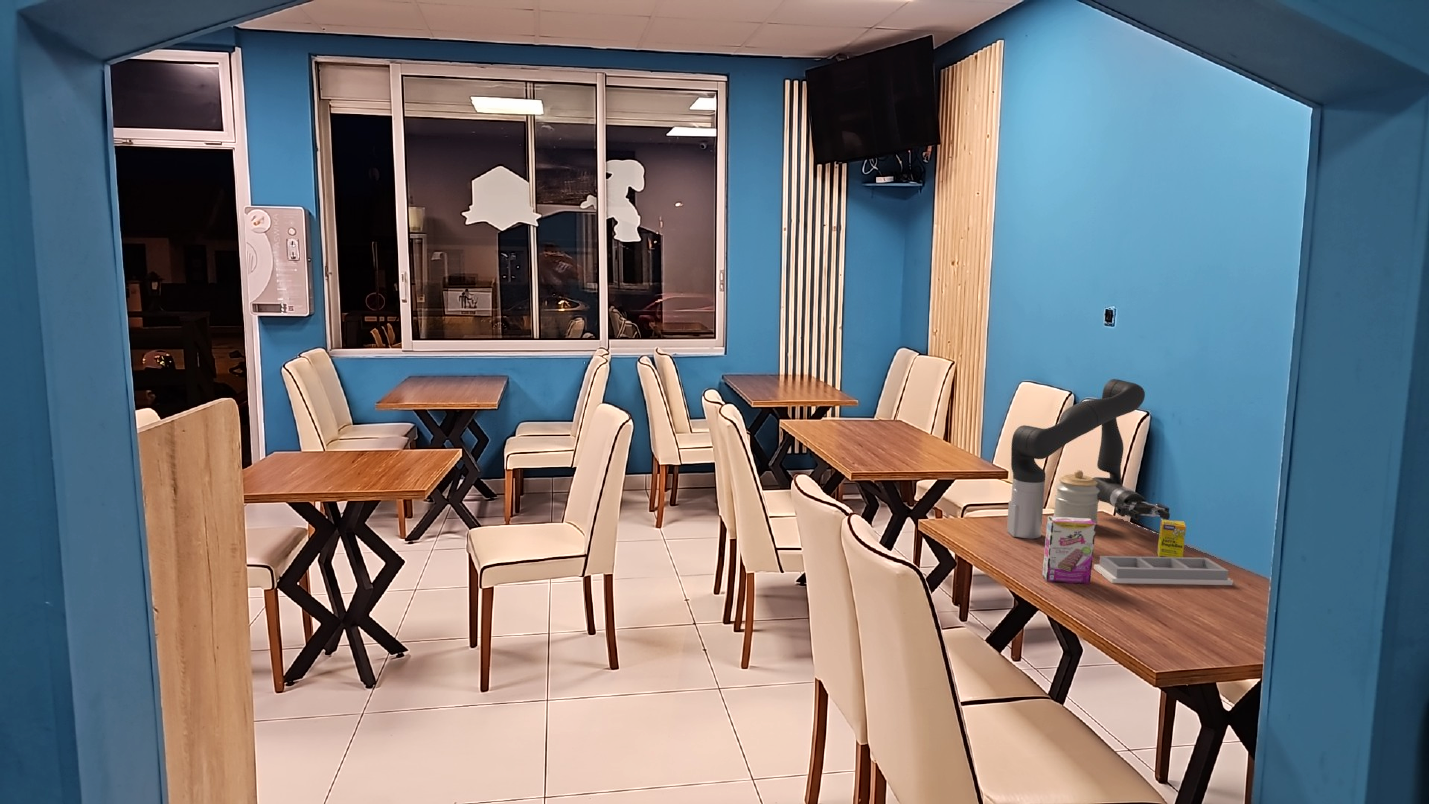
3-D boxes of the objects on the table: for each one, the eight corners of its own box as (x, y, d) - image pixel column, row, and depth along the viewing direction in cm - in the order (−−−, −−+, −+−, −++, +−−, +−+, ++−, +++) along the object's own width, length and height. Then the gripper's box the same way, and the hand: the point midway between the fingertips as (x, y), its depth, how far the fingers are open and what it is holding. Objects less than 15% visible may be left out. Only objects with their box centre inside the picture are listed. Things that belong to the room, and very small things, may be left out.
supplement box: (1158, 561, 248) (1162, 523, 247) (1156, 555, 254) (1160, 518, 252) (1182, 564, 246) (1186, 526, 245) (1180, 558, 252) (1184, 520, 250)
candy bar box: (1046, 582, 230) (1051, 521, 228) (1041, 576, 235) (1046, 515, 233) (1091, 584, 229) (1096, 522, 227) (1085, 578, 234) (1090, 517, 232)
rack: (1112, 583, 231) (1113, 569, 230) (1093, 568, 242) (1094, 555, 241) (1232, 585, 231) (1234, 571, 230) (1208, 570, 242) (1210, 557, 241)
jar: (1092, 533, 275) (1097, 477, 272) (1048, 525, 282) (1053, 471, 279) (1099, 523, 286) (1104, 469, 283) (1057, 516, 292) (1061, 463, 290)
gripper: (1105, 490, 276) (1129, 504, 260) (1151, 490, 276) (1178, 504, 260) (1103, 513, 277) (1127, 529, 261) (1149, 513, 277) (1176, 529, 261)
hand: (1153, 516), depth 260 cm, fingers open, 8 cm apart
